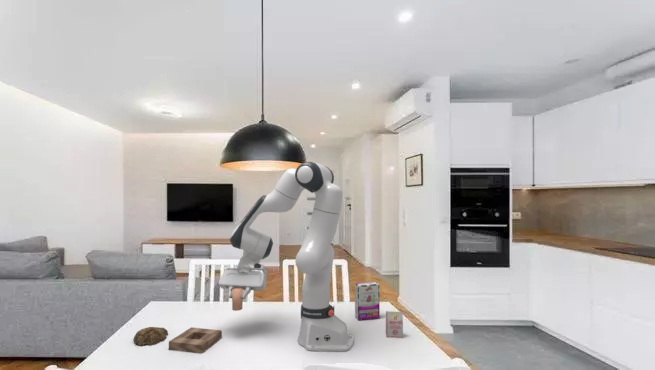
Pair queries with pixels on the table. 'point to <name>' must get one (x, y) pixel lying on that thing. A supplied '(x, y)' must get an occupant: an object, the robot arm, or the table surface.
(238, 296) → the pin
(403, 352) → the table surface
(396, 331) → the white red box
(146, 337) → the bread roll
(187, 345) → the pin board
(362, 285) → the candy bar box
